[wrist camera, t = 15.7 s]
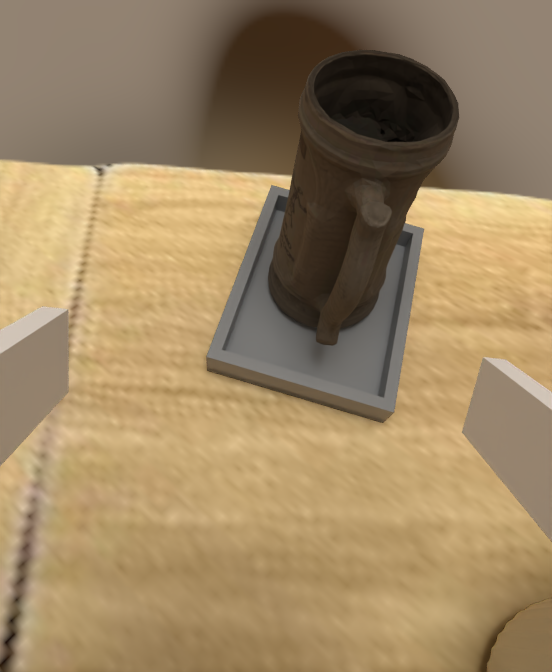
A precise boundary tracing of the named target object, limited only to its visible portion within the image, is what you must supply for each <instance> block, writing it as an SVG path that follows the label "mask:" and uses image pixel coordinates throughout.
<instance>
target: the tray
mask: <svg viewBox="0 0 552 672" xmlns="http://www.w3.org/2000/svg"><path fill="white" fill-rule="evenodd" d="M289 191H290V190H287V189H284V188H280V187H277V186H273V185H271V188H270V191H269V193H268V196H267V199H266V201H265V204H264V206H263V209H262V212H261V214H260V217H259V220H258V222H257V225H256V227H255V230H254V233H253V235H252V238H251V241H250V243H249V246H248V249H247V251H246V254H245V256H244V259H243V262H242V264H241V267H240V270H239V272H238V275H237V277H236V280H235V283H234V285H233V288H232V291H231V293H230V296H229V299H228V301H227V304H226V306H225V309H224V312H223V314H222V317H221V320H220V322H219V325H218V327H217V330H216V333H215V335H214V338H213V341H212V343H211V346H210V349H209V351H208V354H207V356H206V358H207V370H208V371H211V372H214V373H218V374H221V375H224V376H228V377H231V378H234V379H238V380H241V381H244V382H248V383H251V384H254V385H258V386H261V387H265V388H268V389H271V390H275V391H278V392H281V393H285V394H288V395H291V396H295V397H298V398H301V399H305V400H308V401H311V402H315V403H318V404H321V405H325V406H328V407H332V408H335V409H338V410H342V411H345V412H348V413H352V414H355V415H358V416H362V417H365V418H368V419H372V420H375V421H378V422H382V423H383V422H384V421H385V420H386V419H387V418H389V417H390V416H391V415H392V414H393V413H394V409H395V403H396V397H397V391H398V385H399V379H400V373H401V366H402V360H403V354H404V348H405V342H406V336H407V330H408V324H409V318H410V311H411V305H412V299H413V293H414V287H415V281H416V275H417V269H418V262H419V256H420V250H421V244H422V238H423V232H424V229H423V228H420V227H416V226H413V225H409V224H406V223H405V224H404V227H403V230H402V232H401V234H400V237H399V239H398V241H397V244H396V246H395V248H394V251H393V253H392V255H391V258H390V260H389V262H388V265H387V268H386V278H385V282H384V284H383V286H382V288H381V290H380V292H379V297H378V300H377V302H376V304H375V307H374V308H373V310H372V311H371V312H370V314H369V315H368V316H366V317H365V318H364V319H362V320H361V321H360V322H358V323H356V324H353V325H351V326H348V327H345V328H340V331H339V336H338V341H337V344H335V345H333V346H331V345H322V344H320V343H318V342H316V333H317V327H311V326H307V325H305V324H302V323H300V322H298V321H296V320H294V319H293V318H291V317H290V316H288V315H287V314H286V313H284V312H283V311H282V310H281V308H280V307H279V306H278V304H277V303H276V301H275V300H274V299H273V297H272V294H271V292H270V289H269V283H268V273H269V267H270V264H271V261H272V259H273V252H274V246H275V243H276V241H277V240H278V238H279V236H280V231H281V227H282V223H283V218H284V214H285V209H286V205H287V200H288V196H289Z"/></svg>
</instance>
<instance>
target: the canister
mask: <svg viewBox="0 0 552 672" xmlns="http://www.w3.org/2000/svg"><path fill="white" fill-rule="evenodd" d="M487 672H552V598H549V599H546V600H543V601H542V602H538V603H534V604H531V605H530V606H528V607H527V608H526V610H522V611H520V612H518V613H517V614H516V615H515V617H514V618H513V619H512V620H510V621H508V622H507V623H506V625H505V628H504V630H503V631H502V632H501V633H499V634H498V636H497V641H496V643H495V645H494V646H493V647H492V648H491V656H490V659H489V661H488V663H487Z"/></svg>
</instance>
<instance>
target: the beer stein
mask: <svg viewBox="0 0 552 672" xmlns="http://www.w3.org/2000/svg"><path fill="white" fill-rule="evenodd" d="M298 118H299V122H300V126H301V135H300V141H299V145H298V150H297V155H296V160H295V165H294V170H293V175H292V180H291V186H290V191H289V196H288V200H287V205H286V209H285V214H284V218H283V223H282V227H281V231H280V236H279V238H278V240H277V241H276V243H275V246H274V252H273V259H272V261H271V264H270V267H269V273H268V283H269V289H270V292H271V294H272V297H273V299H274V300H275V301H276V303H277V304H278V306H279V307H280V308H281V310H282V311H283V312H284V313H286V314H287V315H288V316H290V317H291V318H293V319H294V320H296V321H298V322H300V323H302V324H305V325H307V326H311V327H317V333H316V342H318V343H320V344H322V345H331V346H333V345H335V344H337V341H338V336H339V331H340V328H345V327H348V326H351V325H353V324H356V323H358V322H360V321H361V320H362V319H364V318H365V317H366V316H368V315H369V314H370V312H371V311H372V310H373V308H374V307H375V304H376V302H377V300H378V297H379V292H380V290H381V288H382V286H383V284H384V282H385V278H386V268H387V265H388V262H389V260H390V258H391V255H392V253H393V251H394V248H395V246H396V244H397V241H398V239H399V237H400V234H401V232H402V230H403V227H404V224H405V221H406V214H407V212H408V210H409V208H410V207H411V205H412V203H413V201H414V200H415V198H416V195H417V192H418V190H419V188H420V186H421V184H422V182H423V180H424V179H425V178H426V177H427V176H428V174H429V173H430V172H431V171H432V170H433V169H434V168H435V166H437V165H438V164H439V163H440V162H441V161H442V160H443V159H444V157H445V156H446V155H447V152H448V151H449V149H450V147H451V144H452V140H453V136H454V132H455V130H456V127H457V123H458V119H459V109H458V102H457V100H456V97H455V95H454V94H453V92H452V90H451V89H450V87H449V86H448V84H447V83H446V81H445V80H444V79H443V78H442V77H440V76H439V75H438V74H436V73H435V72H434V71H432V70H431V69H430V68H428V67H427V66H425V65H423V64H421V63H419V62H417V61H415V60H413V59H411V58H408V57H405V56H402V55H399V54H393V53H387V52H381V51H375V50H357V51H349V52H342V53H339V54H336V55H333V56H330V57H328V58H326V59H325V60H323V61H322V62H320V63H319V64H318V65H317V66H316V67H315V68H314V69H313V70H312V72H311V73H310V75H309V77H308V80H307V83H306V86H305V89H304V91H303V92H302V95H301V98H300V103H299V112H298Z"/></svg>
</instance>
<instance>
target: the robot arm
mask: <svg viewBox="0 0 552 672" xmlns="http://www.w3.org/2000/svg"><path fill="white" fill-rule="evenodd" d="M67 393H68V309H61V308H52V307H44V306H42V307H40V308H39V309H37V310H35V311H33V312H32V313H30V314H28V315H26V316H24V317H23V318H21V319H19V320H17V321H16V322H14V323H12V324H10V325H8V326H7V327H5V328H3V329H1V330H0V466H1V465H2V464H3V463H4V462H5V460H6V459H7V458H8V457H9V456H10V455H11V454H12V453H13V452H14V451H15V450H16V449H17V447H18V446H19V445H20V444H21V443H22V442H23V441H24V440H25V439H26V438H27V437H28V435H29V434H30V433H31V432H32V431H33V430H34V429H35V428H36V427H37V426H38V425H39V423H40V422H41V421H42V420H43V419H44V418H45V417H46V416H47V415H48V414H49V413H50V412H51V410H52V409H53V408H54V407H55V406H56V405H57V404H58V403H59V402H60V401H61V400H62V398H63V397H64V396H65V395H66V394H67ZM462 433H463V434H464V435H465V437H466V438H467V439H468V440H469V442H470V443H471V444H472V445H473V446H474V448H475V449H476V450H477V451H478V453H479V454H480V455H481V456H482V457H483V459H484V460H485V461H486V462H487V464H488V465H489V466H490V467H491V468H492V470H493V471H494V472H495V473H496V475H497V476H498V477H499V478H500V479H501V481H502V482H503V483H504V484H505V486H506V487H507V488H508V489H509V490H510V492H511V493H512V494H513V495H514V496H515V498H516V499H517V500H518V501H519V503H520V504H521V505H522V506H523V507H524V509H525V510H526V511H527V512H528V514H529V515H530V516H531V517H532V518H533V520H534V521H535V522H536V523H537V525H538V526H539V527H540V528H541V529H542V531H543V532H544V533H545V534H546V536H547V537H548V538H549V539H550V540H551V542H552V392H551V391H549V390H548V389H546V388H545V387H544V386H542V385H541V384H539V383H538V382H537V381H535V380H534V379H532V378H531V377H529V376H528V375H527V374H525V373H524V372H522V371H521V370H520V369H518V368H517V367H515V366H514V365H513V364H511V363H510V362H508V361H507V360H504V359H496V358H487V357H483V359H482V363H481V366H480V370H479V373H478V377H477V381H476V384H475V388H474V391H473V395H472V398H471V402H470V406H469V409H468V413H467V416H466V420H465V423H464V427H463V431H462Z"/></svg>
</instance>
